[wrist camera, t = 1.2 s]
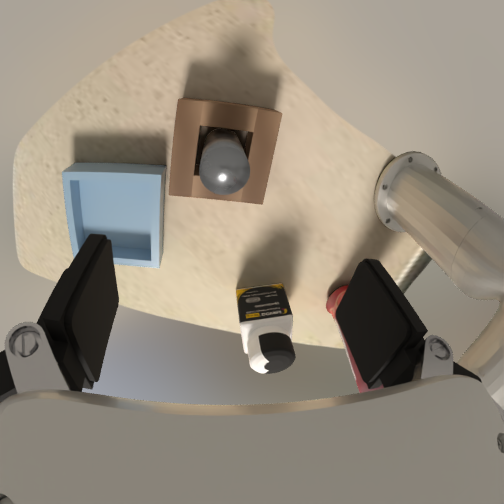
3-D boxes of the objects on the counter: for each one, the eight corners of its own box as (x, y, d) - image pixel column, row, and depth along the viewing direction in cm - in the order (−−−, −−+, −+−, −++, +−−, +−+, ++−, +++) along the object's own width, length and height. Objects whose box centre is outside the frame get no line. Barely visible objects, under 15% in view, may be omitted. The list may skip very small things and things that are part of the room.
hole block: (274, 109, 28) (282, 113, 24) (257, 190, 33) (262, 204, 30) (182, 97, 26) (178, 99, 22) (173, 182, 31) (168, 195, 28)
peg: (242, 130, 29) (254, 150, 20) (236, 163, 31) (245, 197, 23) (206, 126, 28) (202, 144, 20) (201, 160, 30) (196, 192, 22)
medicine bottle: (282, 281, 42) (302, 345, 32) (282, 313, 46) (299, 373, 36) (235, 288, 41) (243, 354, 31) (240, 319, 45) (248, 382, 35)
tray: (166, 165, 30) (161, 175, 27) (163, 252, 36) (159, 268, 33) (74, 162, 27) (62, 171, 24) (83, 245, 34) (74, 259, 31)
